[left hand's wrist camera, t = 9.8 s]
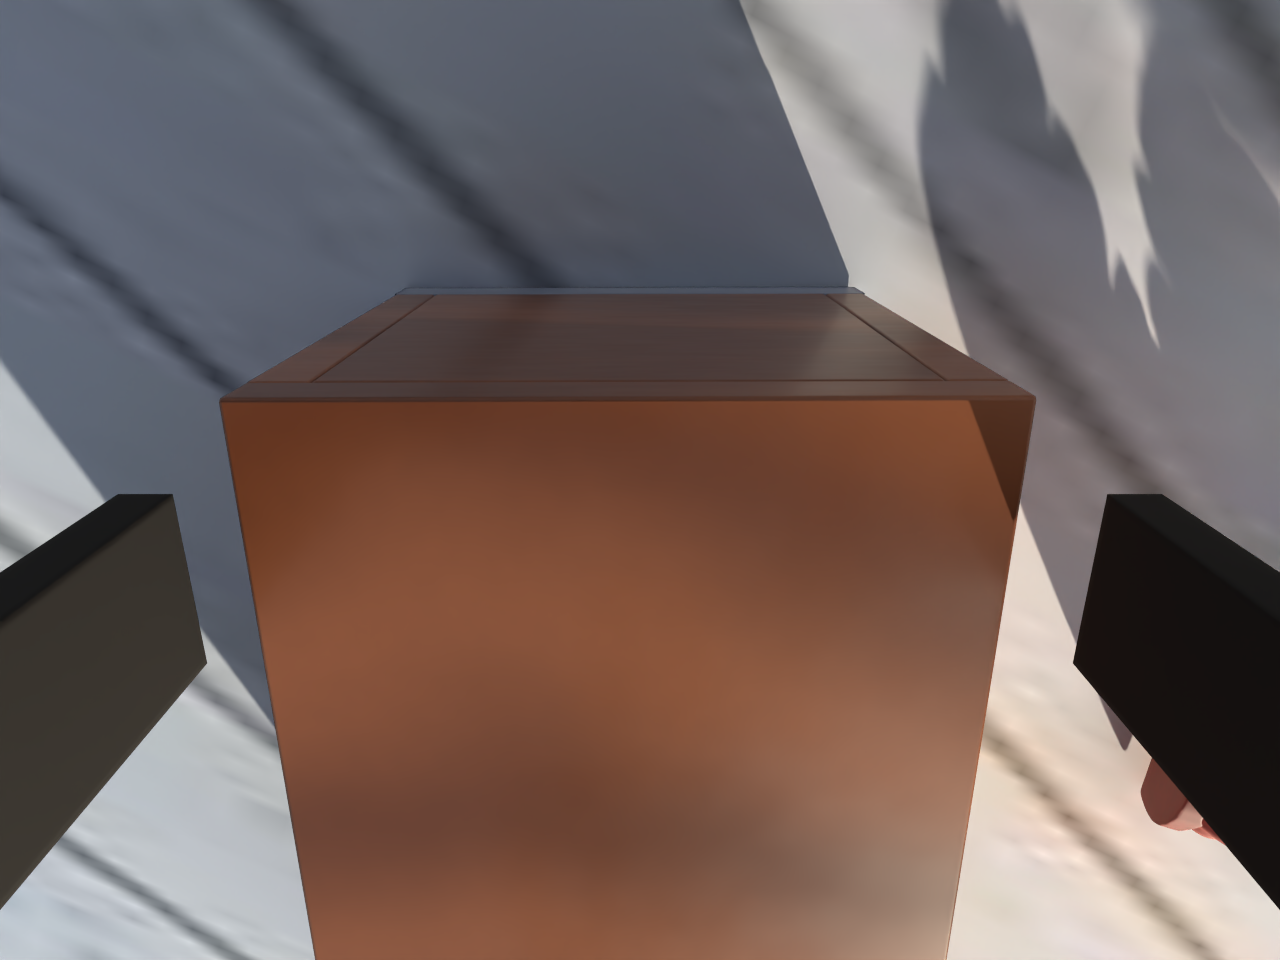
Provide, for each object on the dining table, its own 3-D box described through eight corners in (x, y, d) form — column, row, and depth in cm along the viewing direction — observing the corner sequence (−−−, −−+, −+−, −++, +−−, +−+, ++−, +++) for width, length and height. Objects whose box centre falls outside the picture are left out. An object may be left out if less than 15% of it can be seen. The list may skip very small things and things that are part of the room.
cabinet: (811, 804, 28) (914, 1172, 18) (453, 807, 28) (351, 1178, 18) (854, 287, 22) (1039, 394, 12) (405, 287, 22) (215, 397, 12)
